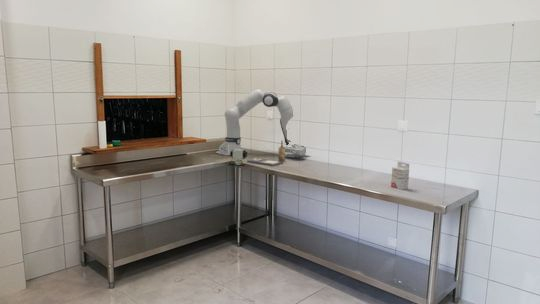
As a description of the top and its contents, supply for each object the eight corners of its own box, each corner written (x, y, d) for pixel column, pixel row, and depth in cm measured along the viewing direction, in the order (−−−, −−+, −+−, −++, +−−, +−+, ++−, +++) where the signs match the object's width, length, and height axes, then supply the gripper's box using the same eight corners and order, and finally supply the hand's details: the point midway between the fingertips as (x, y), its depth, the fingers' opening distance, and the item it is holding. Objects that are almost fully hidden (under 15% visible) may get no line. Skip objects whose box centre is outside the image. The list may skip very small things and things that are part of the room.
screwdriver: (276, 161, 312) (277, 140, 310) (280, 160, 316) (281, 140, 313) (282, 162, 309) (282, 141, 307) (286, 161, 313) (286, 140, 311)
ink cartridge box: (390, 186, 239) (392, 162, 236) (395, 185, 242) (397, 161, 239) (402, 190, 232) (404, 164, 230) (408, 188, 235) (410, 163, 232)
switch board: (247, 162, 308) (247, 159, 307) (257, 159, 318) (257, 157, 318) (272, 166, 294) (272, 163, 293) (283, 163, 304) (283, 161, 304)
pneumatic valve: (245, 165, 293) (245, 149, 291) (230, 164, 296) (230, 148, 295) (247, 164, 298) (247, 148, 297) (232, 163, 302) (232, 147, 300)
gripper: (286, 144, 334) (276, 146, 323) (307, 147, 322) (297, 148, 311) (285, 151, 335) (275, 154, 324) (307, 154, 323) (297, 157, 312)
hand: (286, 151), depth 317 cm, fingers open, 8 cm apart
